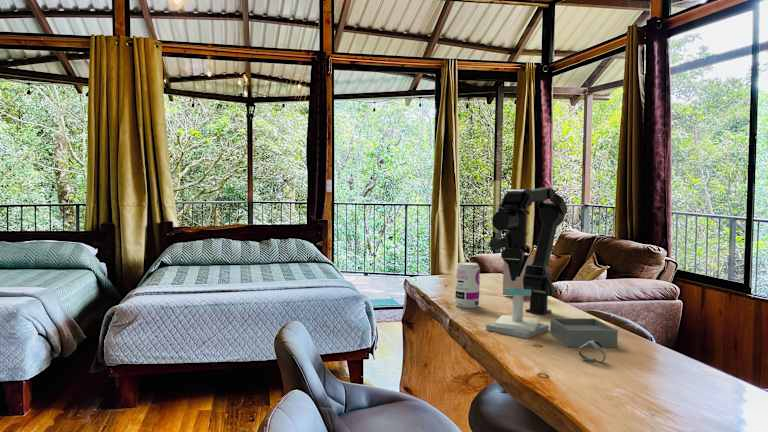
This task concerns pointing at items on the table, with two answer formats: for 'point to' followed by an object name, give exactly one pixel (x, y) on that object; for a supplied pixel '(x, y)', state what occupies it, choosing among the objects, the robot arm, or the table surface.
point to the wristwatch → (597, 346)
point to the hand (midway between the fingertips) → (515, 278)
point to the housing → (583, 332)
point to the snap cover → (517, 313)
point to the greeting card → (519, 280)
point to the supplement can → (467, 285)
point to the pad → (518, 333)
